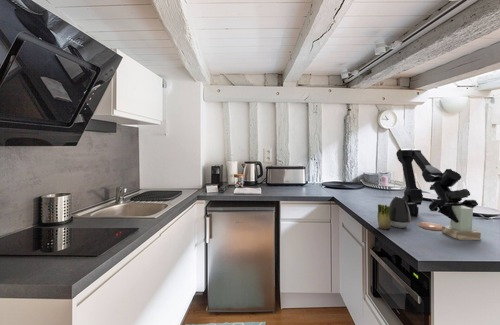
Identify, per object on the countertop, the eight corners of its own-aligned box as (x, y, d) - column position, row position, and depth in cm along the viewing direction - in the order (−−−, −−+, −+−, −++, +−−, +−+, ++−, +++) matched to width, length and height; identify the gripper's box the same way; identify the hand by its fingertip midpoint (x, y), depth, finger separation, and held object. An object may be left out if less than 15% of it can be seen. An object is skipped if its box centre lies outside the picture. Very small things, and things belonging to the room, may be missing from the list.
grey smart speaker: (406, 223, 121) (407, 194, 120) (413, 230, 111) (414, 199, 110) (384, 222, 124) (385, 194, 123) (389, 228, 114) (389, 198, 113)
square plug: (450, 233, 106) (451, 205, 105) (461, 233, 106) (462, 205, 105) (459, 238, 101) (461, 208, 100) (471, 237, 101) (473, 208, 100)
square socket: (442, 232, 108) (442, 225, 108) (461, 231, 108) (461, 225, 108) (459, 240, 99) (459, 233, 99) (480, 239, 99) (480, 232, 99)
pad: (417, 227, 115) (418, 226, 115) (419, 222, 122) (419, 220, 122) (444, 232, 108) (444, 230, 108) (444, 226, 116) (444, 224, 116)
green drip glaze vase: (375, 226, 117) (376, 203, 117) (385, 226, 117) (386, 203, 116) (381, 230, 112) (382, 206, 111) (392, 230, 111) (392, 206, 111)
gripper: (434, 183, 106) (454, 213, 96) (475, 182, 106) (499, 212, 96) (421, 196, 115) (438, 225, 104) (459, 195, 114) (480, 225, 104)
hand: (463, 222), depth 102 cm, fingers closed on square plug, 5 cm apart
